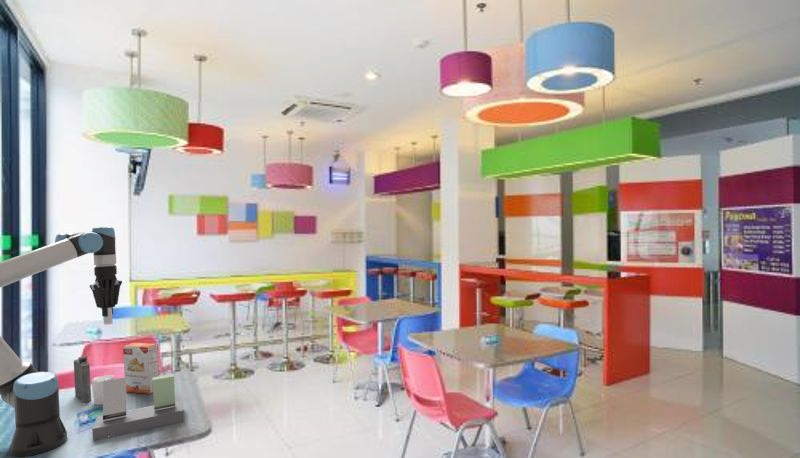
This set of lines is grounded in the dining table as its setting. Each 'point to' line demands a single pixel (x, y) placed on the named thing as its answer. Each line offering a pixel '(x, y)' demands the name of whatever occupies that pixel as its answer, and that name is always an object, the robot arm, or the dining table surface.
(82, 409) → the dining table surface
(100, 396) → the white cup
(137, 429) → the panel
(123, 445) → the dining table surface
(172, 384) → the pale green flat slab
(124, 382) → the light grey rectangular slab
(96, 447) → the dining table surface
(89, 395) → the flask
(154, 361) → the cracker box
